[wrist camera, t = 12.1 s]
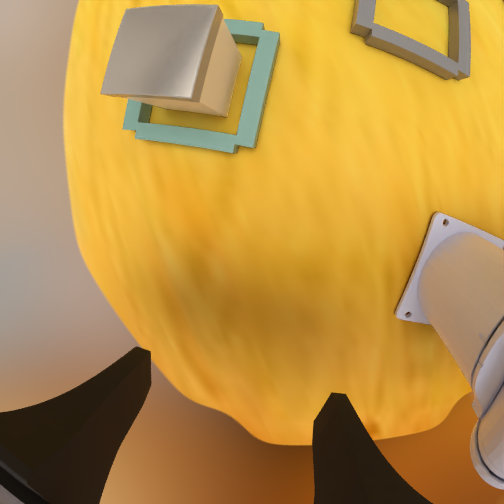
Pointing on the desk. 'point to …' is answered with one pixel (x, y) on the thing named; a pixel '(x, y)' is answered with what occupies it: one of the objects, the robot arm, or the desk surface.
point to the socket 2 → (414, 50)
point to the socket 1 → (252, 106)
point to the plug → (174, 59)
